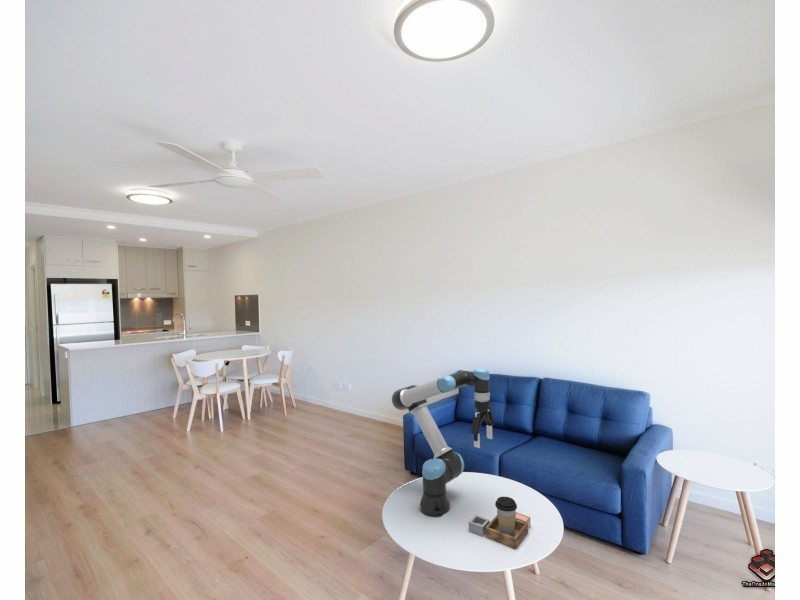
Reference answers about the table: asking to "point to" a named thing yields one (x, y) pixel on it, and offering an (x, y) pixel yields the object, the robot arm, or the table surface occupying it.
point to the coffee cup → (506, 514)
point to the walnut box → (494, 534)
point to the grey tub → (476, 527)
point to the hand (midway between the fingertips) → (483, 442)
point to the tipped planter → (523, 518)
